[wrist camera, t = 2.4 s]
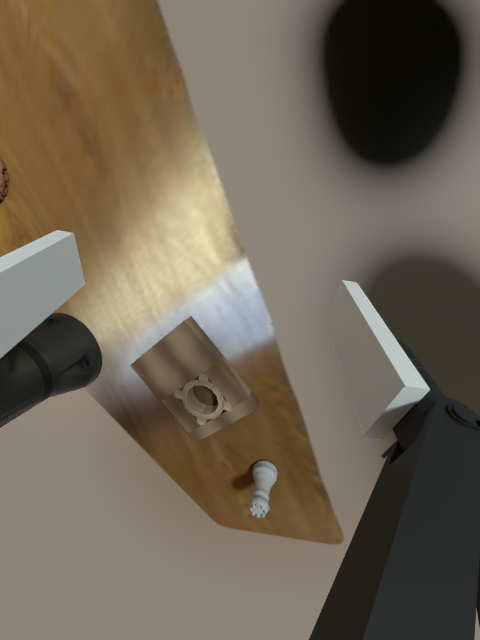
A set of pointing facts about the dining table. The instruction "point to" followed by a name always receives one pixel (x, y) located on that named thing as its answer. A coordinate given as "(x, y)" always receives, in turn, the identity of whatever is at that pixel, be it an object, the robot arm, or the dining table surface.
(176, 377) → the socket board
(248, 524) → the dining table surface
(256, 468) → the rook chess piece
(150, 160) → the dining table surface
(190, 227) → the dining table surface
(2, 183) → the cookie
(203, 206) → the dining table surface
